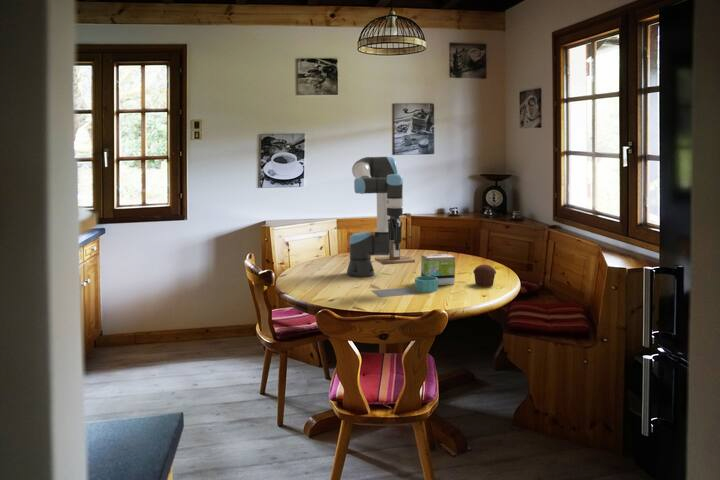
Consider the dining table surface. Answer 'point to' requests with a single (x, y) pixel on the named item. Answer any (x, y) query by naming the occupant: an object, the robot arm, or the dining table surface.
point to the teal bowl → (426, 284)
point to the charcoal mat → (394, 292)
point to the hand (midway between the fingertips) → (394, 255)
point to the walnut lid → (392, 259)
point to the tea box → (439, 268)
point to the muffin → (484, 275)
